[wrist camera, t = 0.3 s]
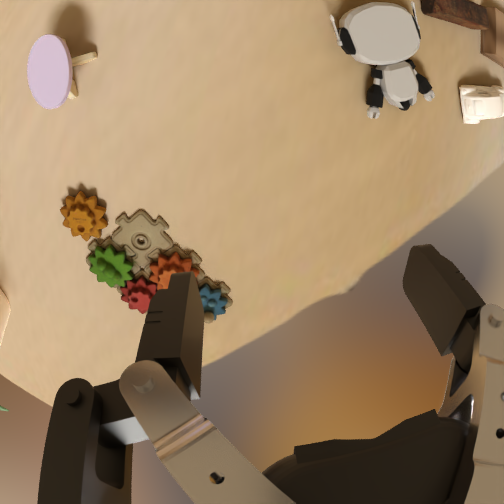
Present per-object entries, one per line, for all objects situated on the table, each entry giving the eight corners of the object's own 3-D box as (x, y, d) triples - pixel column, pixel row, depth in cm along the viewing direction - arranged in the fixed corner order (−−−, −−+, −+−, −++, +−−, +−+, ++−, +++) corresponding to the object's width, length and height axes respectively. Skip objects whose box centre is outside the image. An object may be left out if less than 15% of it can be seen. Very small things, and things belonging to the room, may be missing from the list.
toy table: (99, 97, 30) (79, 102, 25) (44, 110, 29) (21, 118, 24) (98, 27, 24) (78, 22, 20) (42, 45, 24) (18, 45, 19)
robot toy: (426, 95, 33) (396, -1, 24) (445, 102, 29) (415, -3, 20) (357, 118, 35) (317, 14, 26) (372, 126, 31) (329, 10, 22)
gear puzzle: (47, 221, 39) (35, 233, 35) (107, 153, 34) (95, 162, 31) (173, 335, 54) (170, 352, 50) (241, 298, 50) (243, 315, 46)
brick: (468, 8, 22) (487, 7, 18) (471, 29, 25) (491, 30, 21) (416, -9, 23) (435, -14, 19) (420, 15, 25) (440, 12, 21)
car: (458, 122, 34) (477, 130, 30) (453, 84, 31) (473, 89, 27) (501, 115, 32) (519, 122, 29) (498, 82, 29) (516, 86, 25)
